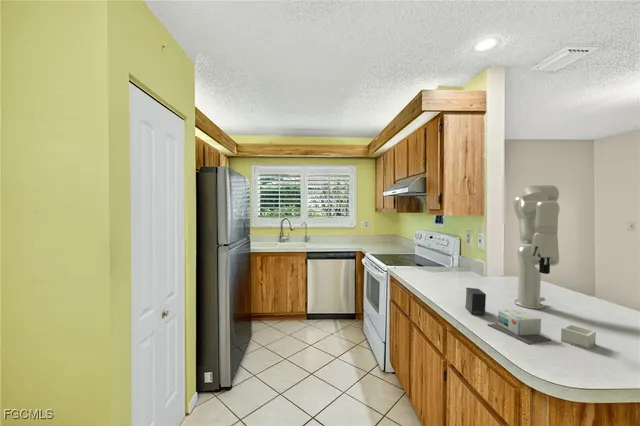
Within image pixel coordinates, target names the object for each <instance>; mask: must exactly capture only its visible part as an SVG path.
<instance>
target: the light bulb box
mask: <svg viewBox="0 0 640 426" xmlns="http://www.w3.org/2000/svg"><path fill="white" fill-rule="evenodd" d="M497 319H498V322H497V323H498V325H499V326H501V327H503V328H505V329H507V330H509V331H511V332H512V333H514V334H516V335H532V334H539V335H541V334H542V331H541V330H542V329H541V328H542V318H540V317H538V316H536V315H534V314H531V313H530V312H527V311H525V310H523V309H518V308H517V309H504V310H503V309H501V310H500V309H499V310H498V318H497Z"/></svg>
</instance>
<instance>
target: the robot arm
mask: <svg viewBox="0 0 640 426" xmlns="http://www.w3.org/2000/svg"><path fill="white" fill-rule="evenodd" d="M522 194H523V195H519V196H516V197H515V198H514V201H513V208H514V212H515V215H516V217H517V219H518V223H519V225H518V226H519V227H518V228H519V240H520V242H521V243H522V244H523V246H519V248H518V249H517V253H516V254H517V260H518V261H517V262H518V283H517V284H518V287H517V298H516V299H515V300H514V301H513V302H514V304H515V305H517V306H519V307H523V308H527V309H533V310H541V309H544V304H543V303H542V302H545V301H546V298H545V296H544V297H543V296H542V297H541V281H542V279H541V277H542V274H545V275H548V274H549V275H550V269H551V267H555V266H557V265H559V262H560V251H559V238H558V231H559V229H558V227H559V214H560V205H559V203H558V200H559V196H560V191H559V189H558V187H557V186H556V185H553V184H552V185H551V184H545V185H539V184H537V185H529V186H527V187H526V188H524V190H523V191H522ZM536 266H539V267H538V268H537V267H536Z"/></svg>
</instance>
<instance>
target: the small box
mask: <svg viewBox="0 0 640 426" xmlns="http://www.w3.org/2000/svg"><path fill="white" fill-rule="evenodd" d="M486 299H487V294H486V293H485V292H484V291H482V290H481V289H480V288H476V287H465V306H464V307H465V309H466V310H467V311H468V312H469V314H470V315H475V316H476V315H477V316H486V302H487V301H486Z"/></svg>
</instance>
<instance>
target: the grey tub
mask: <svg viewBox="0 0 640 426" xmlns="http://www.w3.org/2000/svg"><path fill="white" fill-rule="evenodd" d="M596 334H597V331H596V330H592V329H589V328H586V327H582V326H579V325H575V324H572V323H568V324H566V325H565V326H563V327H561V334H560V341H561V342H563V341H564V342H565V343H566V342H568V344H570V343H571V344H570V345H573V344H574V346H577V347H579V346H580V347H579V348H582V347H583V348H582V349H585V348H586V349H585V350H590V349H591V348H592V347H594V346H595V345H596V339H597V338H596V336H597V335H596ZM593 345H594V346H593ZM589 348H590V349H589Z"/></svg>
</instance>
